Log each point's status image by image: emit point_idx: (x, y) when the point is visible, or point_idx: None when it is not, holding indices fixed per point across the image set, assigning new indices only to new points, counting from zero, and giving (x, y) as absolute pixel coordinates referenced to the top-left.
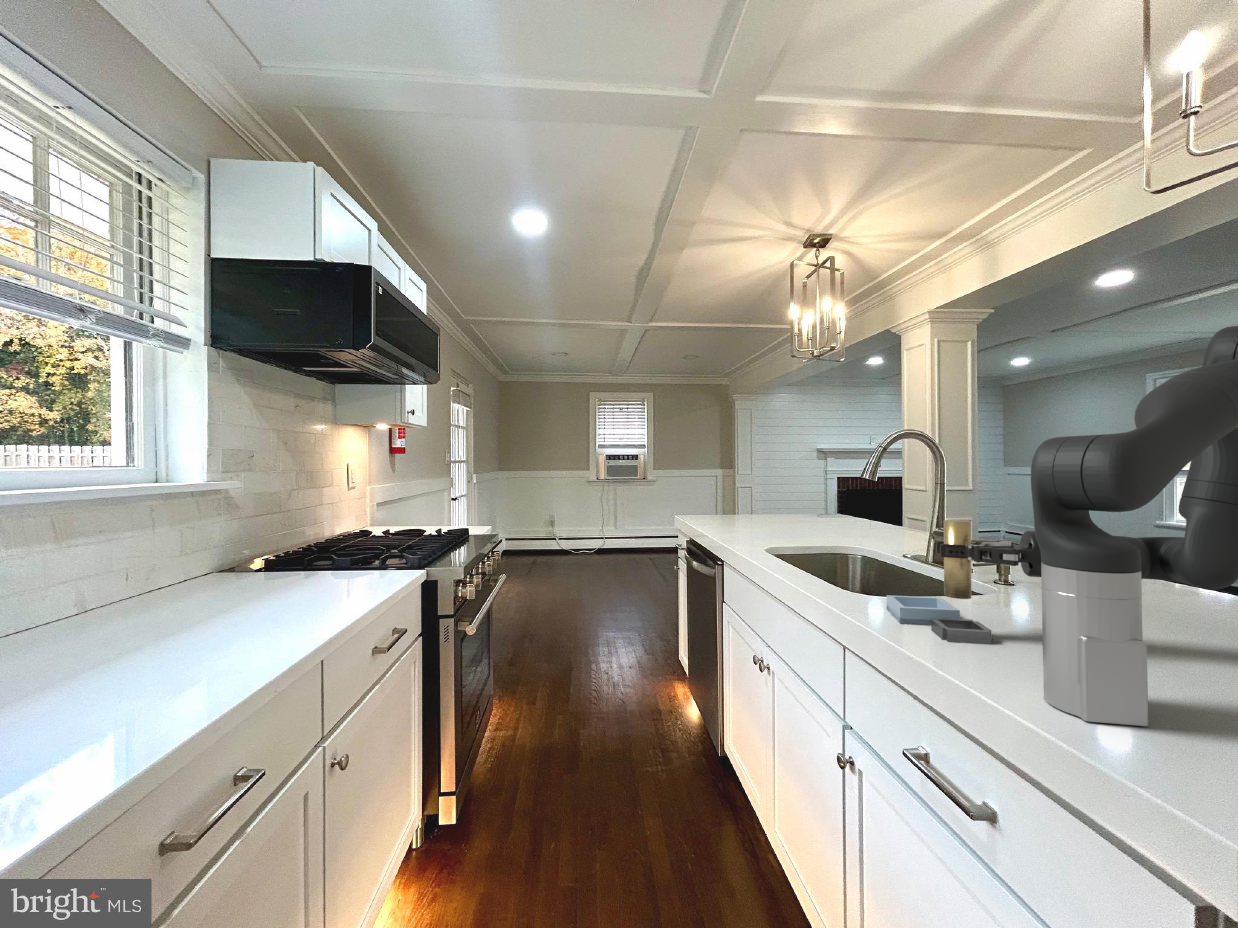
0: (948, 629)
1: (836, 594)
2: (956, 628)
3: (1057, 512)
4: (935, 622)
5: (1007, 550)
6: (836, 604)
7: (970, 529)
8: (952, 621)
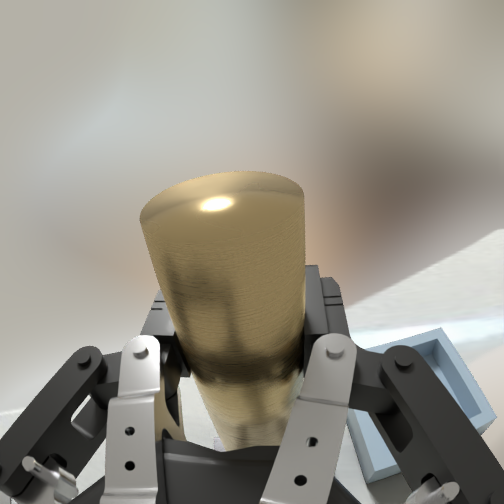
0: (215, 439)
1: (484, 277)
2: None
3: None
4: None
5: (3, 444)
6: (420, 286)
7: (179, 290)
8: None
